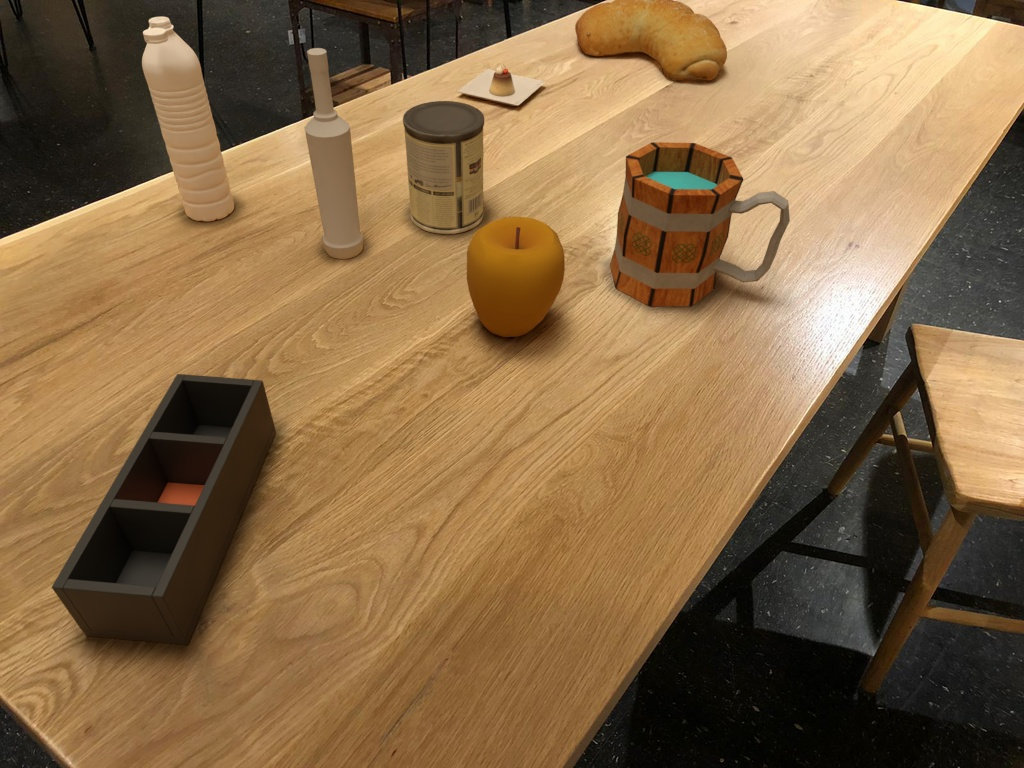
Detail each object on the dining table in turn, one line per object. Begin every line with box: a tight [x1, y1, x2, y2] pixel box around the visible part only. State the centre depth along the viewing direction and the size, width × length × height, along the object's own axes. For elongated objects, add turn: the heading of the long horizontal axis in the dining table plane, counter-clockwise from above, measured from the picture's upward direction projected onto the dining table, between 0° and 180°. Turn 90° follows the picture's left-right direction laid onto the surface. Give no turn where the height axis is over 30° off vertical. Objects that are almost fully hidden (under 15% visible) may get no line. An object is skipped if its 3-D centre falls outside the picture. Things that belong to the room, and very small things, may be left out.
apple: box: [466, 216, 566, 338], centre depth 85 cm, size 11×11×13 cm
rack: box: [51, 373, 277, 646], centre depth 65 cm, size 8×23×7 cm, turn 176°
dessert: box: [456, 63, 547, 107], centre depth 136 cm, size 12×12×5 cm
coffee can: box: [402, 100, 485, 235], centre depth 101 cm, size 10×10×14 cm
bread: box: [574, 0, 728, 81], centre depth 150 cm, size 32×20×10 cm, turn 53°
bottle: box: [304, 47, 364, 260], centre depth 91 cm, size 5×5×25 cm
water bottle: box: [141, 16, 235, 222], centre depth 96 cm, size 9×6×25 cm
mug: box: [609, 141, 791, 307], centre depth 91 cm, size 20×14×15 cm
